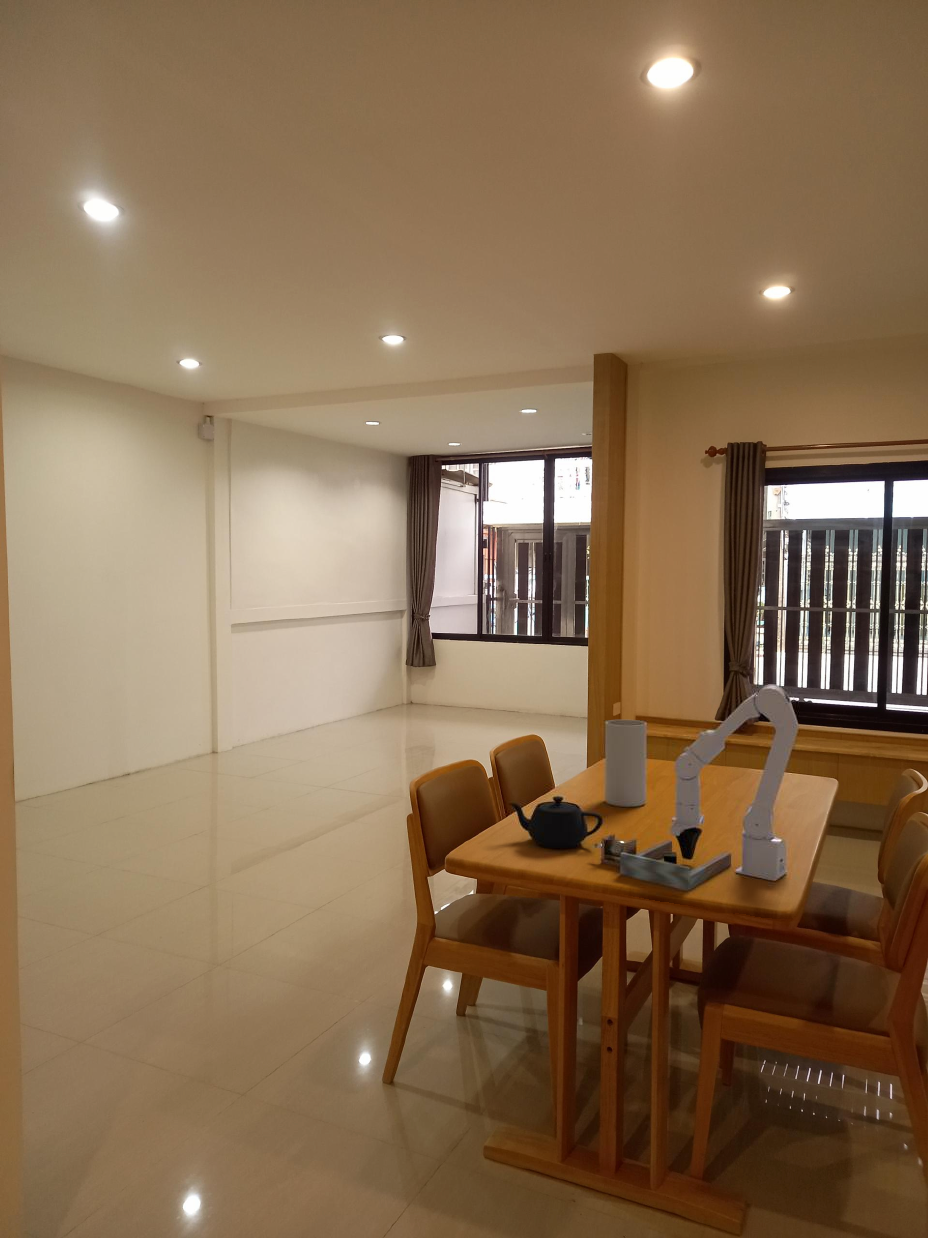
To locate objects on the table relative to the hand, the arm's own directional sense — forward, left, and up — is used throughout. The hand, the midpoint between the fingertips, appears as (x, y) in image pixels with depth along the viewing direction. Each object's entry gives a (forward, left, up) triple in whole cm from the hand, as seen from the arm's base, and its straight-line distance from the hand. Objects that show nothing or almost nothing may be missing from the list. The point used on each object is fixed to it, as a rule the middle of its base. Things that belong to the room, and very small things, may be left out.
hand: (687, 858), depth 210 cm
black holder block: (+1, +7, -2) cm, 7 cm away
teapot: (+35, +6, -2) cm, 35 cm away
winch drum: (+14, +10, -1) cm, 18 cm away
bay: (0, +5, -1) cm, 5 cm away
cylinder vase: (+42, -43, -2) cm, 60 cm away
